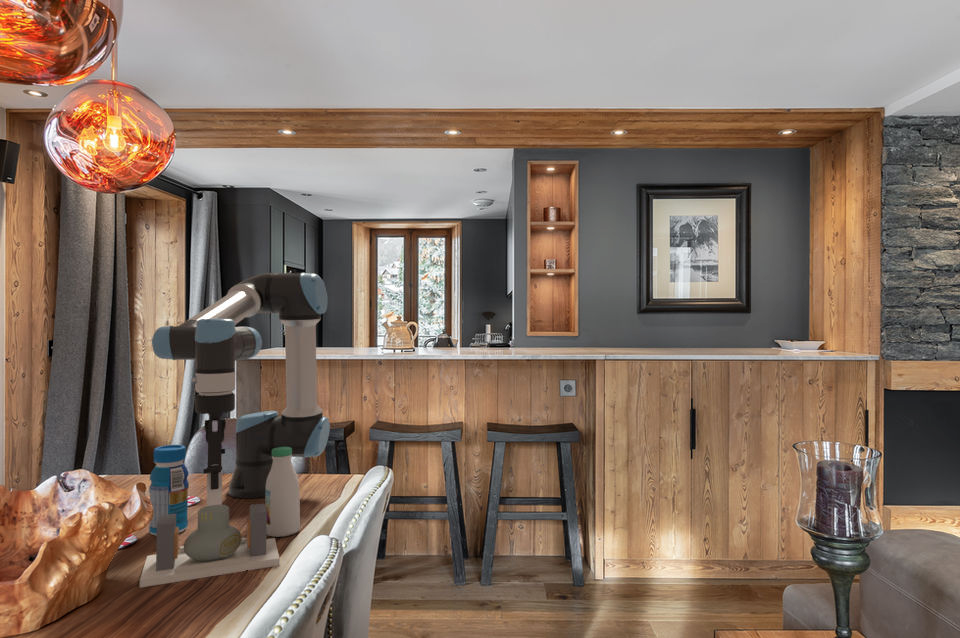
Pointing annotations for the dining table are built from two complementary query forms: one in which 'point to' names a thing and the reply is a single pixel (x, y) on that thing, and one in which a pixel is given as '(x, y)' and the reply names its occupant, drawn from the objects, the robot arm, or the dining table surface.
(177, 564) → the rail
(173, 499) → the beverage bottle
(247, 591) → the dining table surface
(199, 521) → the air freshener
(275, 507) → the milk bottle
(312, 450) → the robot arm
